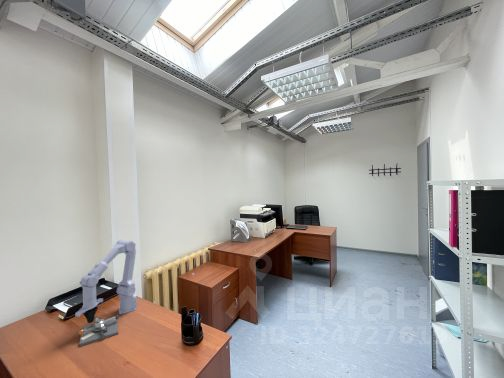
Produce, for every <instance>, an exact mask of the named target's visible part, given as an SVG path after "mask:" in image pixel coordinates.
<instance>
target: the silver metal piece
mask: <svg viewBox="0 0 504 378" xmlns="http://www.w3.org/2000/svg"><path fill="white" fill-rule="evenodd" d="M119 318H120V314H117V315H115V316H112V317H110V318H107V319H104V318H99V317H98V316H97V315H95V316H94V320H93V322H94V323H95V325H93V326H90V327H88V328H85V329H83V328H82V329H80V330H78V333H77V334H78V335H79V336H81V335H82V334H84V333H86V332H88V331H91V330H92V331H93V332H98V331H101V330H102V332H103V333H106V332H107V328H106V327H107V323H109V322H111V321H114V320H117V319H118V320H119Z"/></svg>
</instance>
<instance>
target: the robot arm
mask: <svg viewBox="0 0 504 378" xmlns="http://www.w3.org/2000/svg"><path fill="white" fill-rule="evenodd" d="M120 254H124V255H125V260H124V266H123V272H122V280H121V281H120V282H118V286H117V288H116V293H117V295H118V298H119V307H118V315H123V314H126V313H127V314H128V313H129V312H133V311H137V309H138V307H137V305H138V302H137V300H138V299H137V293H136V283H135V281H134V280H133V277H134V268H135V264H136V263H135V260H136V254H137V250H136V242H134V241H132V240H123V239H119V240H117V241H116V242H115V244H114V245H113V248H112V249H111V250H110V252H109V253H108V254H107V255H106V257H104V259H103V260H102V261H99V262H98V263H96V264H95V265H94V266H93V268H92V269H91V270H90V271H89V272H88V273H87V274H85V275H83V276H82V277H81V280H80V281H79V285H80V286H81V288H82V304H83V305H82V306H81V307H80V308H79V310H78V311H76V312H75V317H76V318H80V317H81V315H83V316H84V317H85V319H86V321H87V322H86V323H88V324H93V322H94V317H96V313H97V312H98V309H99V307H98V305H99V304H101V303H103V302H104V298H100V297H99V298H98V299H97V284H98V283H99V279H100V278H101V276H102V275H103V274H104V273H105V272H106V271H107V269H108V267H109V266H108V265H109V264H110V263H111V262H112V261H113V260H114V259H115V258H116V257H117V256H118V255H120Z"/></svg>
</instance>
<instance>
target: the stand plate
mask: <svg viewBox="0 0 504 378" xmlns="http://www.w3.org/2000/svg"><path fill="white" fill-rule="evenodd" d="M118 321H119V318H118V319H117V320H114V321H111V322H109V323H107V327H106V328H107V332H106V333H103V332H102V330H101V331H98V332H93V331H92V330H91V331H88V332H86V333H84V334H82V335H80V339H79V343H78V346H79V348H80V347H83V346H86V345H90V344H92V343H95V342H99V341H101V340H104V339H107V338H111V337H113V336H117V335H119V325H118V324H119V322H118ZM93 325H95V322H94V323H89V324H87V325H84V326H82V329H85V328H88V327H90V326H93Z"/></svg>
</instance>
